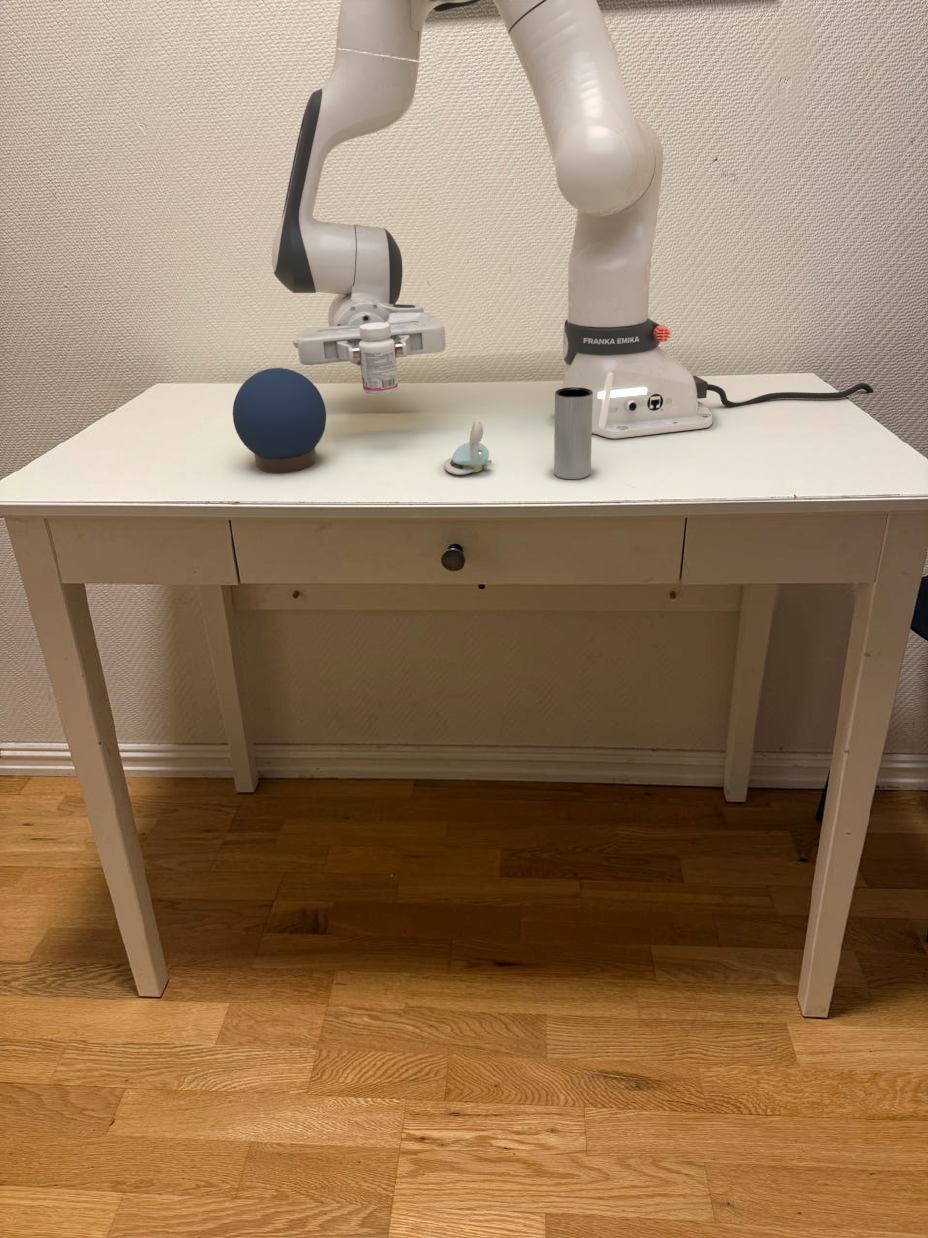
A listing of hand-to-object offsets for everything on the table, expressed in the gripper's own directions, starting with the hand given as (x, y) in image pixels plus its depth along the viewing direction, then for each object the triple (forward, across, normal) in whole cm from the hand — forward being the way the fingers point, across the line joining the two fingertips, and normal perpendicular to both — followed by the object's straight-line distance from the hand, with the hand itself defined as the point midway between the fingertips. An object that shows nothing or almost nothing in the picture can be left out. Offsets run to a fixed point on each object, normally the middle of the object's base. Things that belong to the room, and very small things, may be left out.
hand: (378, 353), depth 119 cm
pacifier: (+11, +9, +14) cm, 19 cm away
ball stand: (+1, -14, +13) cm, 19 cm away
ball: (+1, -14, +13) cm, 19 cm away
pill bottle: (-1, 0, +5) cm, 5 cm away
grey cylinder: (+17, +21, +14) cm, 30 cm away
